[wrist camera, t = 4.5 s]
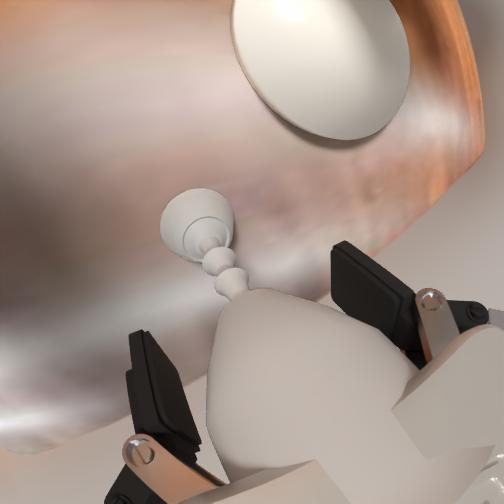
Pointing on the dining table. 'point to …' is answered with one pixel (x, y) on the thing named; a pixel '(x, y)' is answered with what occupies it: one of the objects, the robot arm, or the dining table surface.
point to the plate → (324, 61)
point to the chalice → (305, 381)
